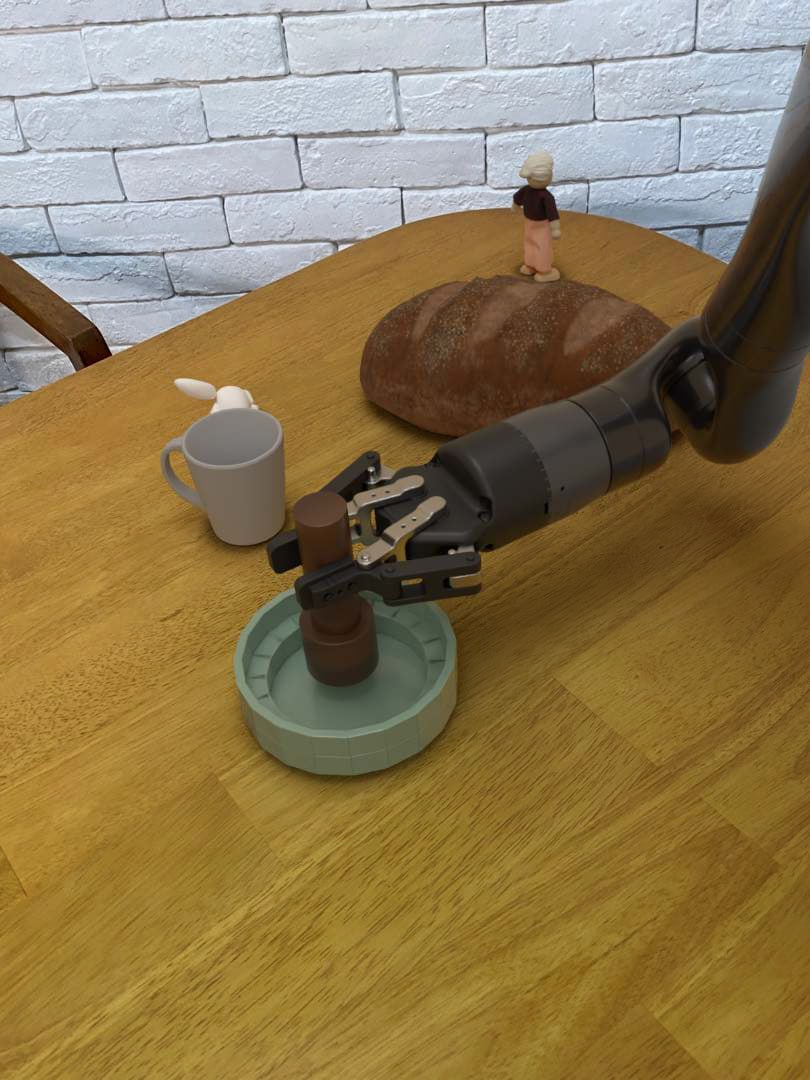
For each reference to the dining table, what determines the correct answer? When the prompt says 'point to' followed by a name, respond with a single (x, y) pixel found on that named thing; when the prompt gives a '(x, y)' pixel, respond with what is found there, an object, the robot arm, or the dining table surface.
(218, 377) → the dining table surface
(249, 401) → the rabbit figurine
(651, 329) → the bread
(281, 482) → the cup
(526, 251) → the grandmother figurine
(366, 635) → the pestle
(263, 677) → the bowl
